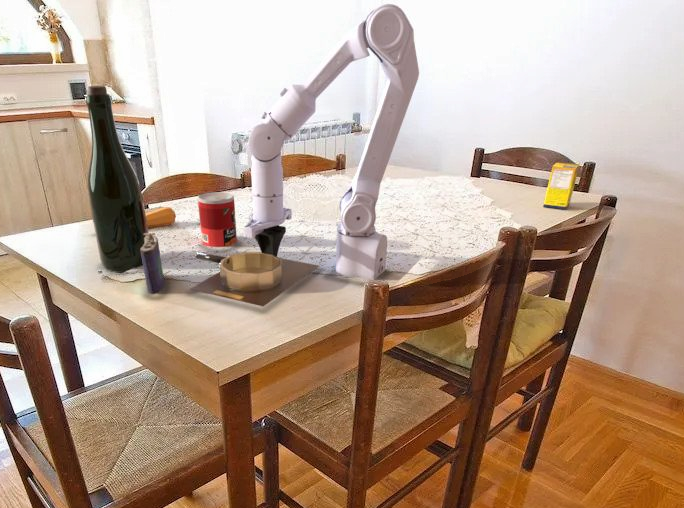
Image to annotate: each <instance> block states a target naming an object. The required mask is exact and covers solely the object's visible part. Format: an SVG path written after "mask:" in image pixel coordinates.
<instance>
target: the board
mask: <svg viewBox="0 0 684 508" xmlns="http://www.w3.org/2000/svg"><path fill="white" fill-rule="evenodd" d="M279 258H280V259H281V269H282V280H281V283H280V284H279V285H278V286H276V287H274V288H272V289H269V290H265V291H259V292H240V291H234V290H231V289H228V288H226V287H225V286H224V285H223V284H222V282H221V277H220V271H218V272H217V273H214V274H213V275H211V276H210V277H208V278H206V279H203V280H202V281H201V282H199V283H197V284H195V285H193V286H192V287H190V288H189V290H192V291H195V292H200V293H205V294H208V295H212V296H217V297H221V298H225V299H229V300H234V301H238V302H242V303H246V304H250V305H255V306H259V307H265V306H266V305H267V304H269V303H270V302H272V301H273V300H274V299H275V298H277V297H279V296H280V295H281V294H283V293H284V292H285V291H287V290H289V289H290V288H291V287H292V286H294V285H295V284H297V283H298V282H299V281H301V280H302V279H303V278H305V277H306V276H308V275H309V274H310V273H312V272H313V271H315V270H316V269H317V268H319V267H320V264H319V265H318V264H314V263H307V262H302V261H298V260H292V259H287V258H281V257H279Z"/></svg>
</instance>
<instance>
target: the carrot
mask: <svg viewBox="0 0 684 508" xmlns="http://www.w3.org/2000/svg"><path fill="white" fill-rule="evenodd" d="M145 214H146V219H147V225H148V229H150V228H156V227H157V228H158V227H165V226H171V225H172V224H174V223H175V222H176V218H177V214H176V212H175V210H173V208H172V207H171V206H163V207H161V208H157V209H155V210H152V211H150V212H147V213H145Z"/></svg>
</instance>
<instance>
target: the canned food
mask: <svg viewBox="0 0 684 508" xmlns="http://www.w3.org/2000/svg"><path fill="white" fill-rule="evenodd" d="M197 207H198V216H199V225H200V226H199V227H200V235H201V236H200V237H201V243H202V244H203V245H204V246H206V247H211V248H223V247H230V246H233V245H235V244H236V243H237V242H238V240H237V238H238V237H237V221H236V205H235V197H234V194H232V193H229V192H222V191H214V192H213V191H211V192H205V193H201V194H199V195H198V196H197Z"/></svg>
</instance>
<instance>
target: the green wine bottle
mask: <svg viewBox="0 0 684 508" xmlns="http://www.w3.org/2000/svg"><path fill="white" fill-rule="evenodd" d="M86 93H87V94H85V104H86V108H87V111H88V117H89V124H90V133H91V154H90V160H89V165H88V172H87V193H88V201H89V207H90V210H91V217H92V223H93V228H94V229H93V230H94V233H95V239H96V245H97V249H98V254H99V260H100V264H101V266H102V268H104V269H105V270H108V271H110V272H114V273H125V272H128V271H130V270H133V269H137V268H140V267H143V262H142V257H141V251H140V249H141V247H143V245H144V238H145V237H146V236H145V235H144V234H145V233H147V234H148V233H150V232H149V228H148V225H147V219H146V214H147V213H146V209H145V202H144V197H143V192H142V189H141V188H142V187H141V184H140V182H139V178H138V175H137V173H136V171H135V169H134V167H133V165H132V163H131V162H130V160H129V158H128V156H127V154H126V152H125V150H124V147H123V145H122V143H121V141H120V137H119V134H118V129H117V126H116V121H115V116H114V111H113V101H112V98H111V95H110V94H109V93H108V90H107V87H106V86H104V85H90V86H86Z"/></svg>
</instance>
